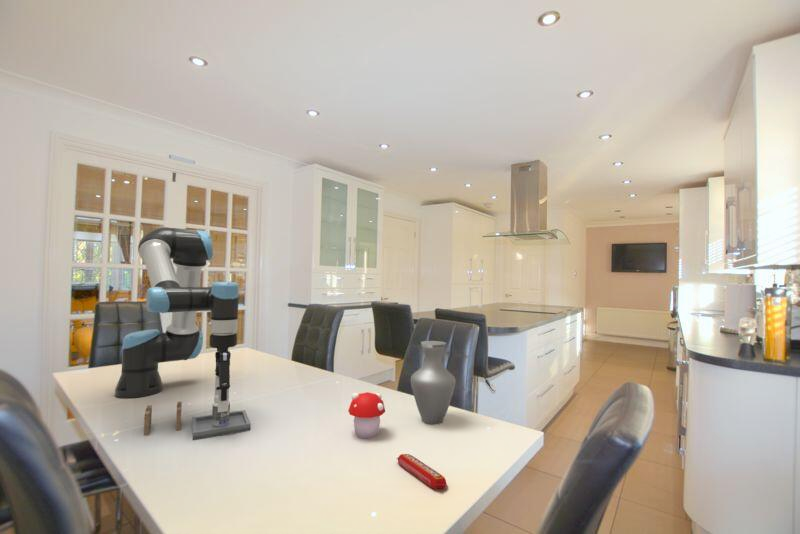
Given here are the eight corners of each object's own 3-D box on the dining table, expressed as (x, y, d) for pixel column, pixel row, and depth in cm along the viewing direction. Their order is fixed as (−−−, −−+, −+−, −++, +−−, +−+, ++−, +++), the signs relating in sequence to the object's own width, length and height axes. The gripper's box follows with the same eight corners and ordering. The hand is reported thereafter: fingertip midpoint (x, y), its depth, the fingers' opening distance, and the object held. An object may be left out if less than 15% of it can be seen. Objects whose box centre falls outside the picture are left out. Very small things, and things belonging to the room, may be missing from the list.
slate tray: (192, 424, 116) (192, 417, 116) (244, 416, 123) (245, 409, 123) (192, 440, 105) (192, 432, 105) (250, 430, 112) (250, 423, 112)
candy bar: (449, 490, 83) (450, 476, 83) (436, 495, 81) (437, 481, 81) (406, 460, 96) (406, 448, 96) (394, 464, 94) (394, 452, 94)
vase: (460, 417, 126) (461, 341, 126) (447, 433, 113) (448, 348, 113) (419, 410, 132) (421, 337, 133) (402, 424, 119) (404, 343, 120)
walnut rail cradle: (146, 425, 114) (147, 405, 114) (181, 420, 119) (181, 401, 119) (143, 435, 107) (144, 414, 107) (180, 429, 112) (181, 409, 112)
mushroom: (390, 429, 114) (391, 389, 115) (376, 444, 104) (377, 400, 105) (358, 424, 118) (359, 385, 118) (341, 438, 108) (342, 395, 108)
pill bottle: (222, 427, 111) (223, 398, 112) (208, 426, 112) (209, 397, 113) (232, 421, 116) (233, 393, 116) (219, 420, 117) (219, 392, 117)
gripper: (207, 327, 124) (205, 393, 124) (212, 340, 102) (209, 420, 102) (233, 327, 128) (230, 390, 127) (242, 339, 106) (239, 416, 106)
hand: (221, 404), depth 115 cm, fingers open, 13 cm apart
